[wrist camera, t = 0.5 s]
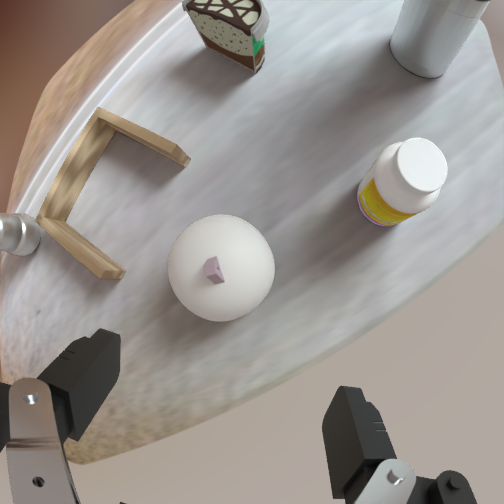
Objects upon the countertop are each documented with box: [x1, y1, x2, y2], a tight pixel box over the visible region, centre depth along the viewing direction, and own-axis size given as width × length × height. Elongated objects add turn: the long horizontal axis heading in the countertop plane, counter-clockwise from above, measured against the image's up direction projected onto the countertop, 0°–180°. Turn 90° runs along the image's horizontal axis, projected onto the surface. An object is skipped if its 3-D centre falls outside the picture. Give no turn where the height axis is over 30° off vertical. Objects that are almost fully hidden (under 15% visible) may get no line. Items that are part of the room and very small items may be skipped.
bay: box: [35, 107, 190, 279], centre depth 37 cm, size 17×14×5 cm
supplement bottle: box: [357, 138, 447, 226], centre depth 28 cm, size 7×7×13 cm
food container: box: [182, 0, 269, 74], centre depth 33 cm, size 12×6×10 cm, turn 50°
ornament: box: [167, 214, 275, 322], centre depth 31 cm, size 10×10×12 cm
